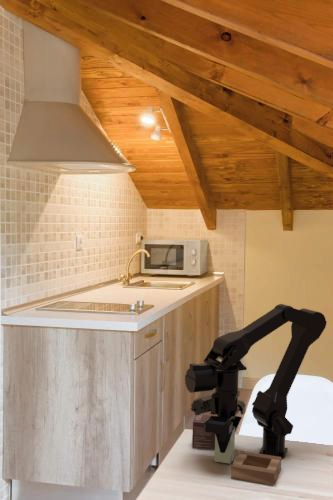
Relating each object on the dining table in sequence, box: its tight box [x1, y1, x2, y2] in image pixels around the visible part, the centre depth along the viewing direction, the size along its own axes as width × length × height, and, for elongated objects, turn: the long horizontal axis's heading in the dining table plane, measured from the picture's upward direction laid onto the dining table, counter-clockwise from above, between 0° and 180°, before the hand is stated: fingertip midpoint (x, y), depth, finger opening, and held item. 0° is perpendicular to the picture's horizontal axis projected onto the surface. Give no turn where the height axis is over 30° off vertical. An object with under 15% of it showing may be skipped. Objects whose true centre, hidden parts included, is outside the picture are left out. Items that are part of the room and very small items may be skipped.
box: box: [191, 414, 215, 451], centre depth 166 cm, size 6×6×7 cm
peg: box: [214, 426, 236, 464], centre depth 156 cm, size 4×4×8 cm
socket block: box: [230, 450, 282, 487], centre depth 148 cm, size 10×10×3 cm
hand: (224, 449), depth 156 cm, fingers closed on peg, 4 cm apart
